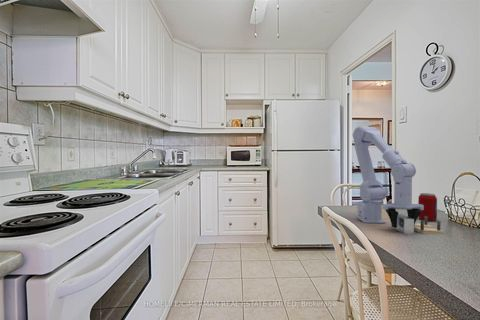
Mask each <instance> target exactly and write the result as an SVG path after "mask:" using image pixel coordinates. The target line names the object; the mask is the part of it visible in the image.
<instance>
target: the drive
mask: <svg viewBox="0 0 480 320" xmlns="http://www.w3.org/2000/svg"><path fill="white" fill-rule="evenodd" d="M391 228H392V229H394V230H395V231H398V232H399V233H401V234H403V235H414V234H415V232H414V231H415V230H414V219H412V218H410V217H408V215H405V214H403V213H398V217H397V228H394V227H392V226H391Z"/></svg>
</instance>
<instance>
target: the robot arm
mask: <svg viewBox="0 0 480 320" xmlns="http://www.w3.org/2000/svg"><path fill="white" fill-rule="evenodd" d="M381 133H382V132H381V131H380V130H379V128H378V127H376V126H361V125H360V126H357V127H356V128H355V129H354V130H353V133H352V139H353V142H354V150H355V153H356V157H357V161H358V165H359V170H360V173H361V177H362V181H363V182H362V183H361V184H360V185H359V196H360V198H361V201H359V202H358V203H357V216H356V218H357V219H358V220H360V221H361V222H362V223H366V224H367V223H368V224H369V223H370V224H371V223H372V224H373V223H375V224H376V223H379V224H382V223H383V224H385V223H387V222H386V221H385V220H383V219H382V218H383V217H382V215H383V214H382V213H383V211H382V210H383V209H384V210H385V212H386V213H387V216H388V217H389V218H388V219H389V220H390V224H391V228H392V227H394V228H397V217H398V214H400V213H399V211H397V210H406V212H407V213H406V214H407V216H408V217H410V218H412V219H414V225H415V224H416V223H417V220H418V219H419V215H420V214H421V211H419V210H424V205H421V204H418V203H413V201H412V200H413V194H412V193H413V177H414V176H415V175H416V173H417V169H416V166H415V165H414V164H413V163H412V162H408V161H407V160H406V159H405V158H403V156H402V155H401V154H400V151H399V150H398V149H394V148H391V147H390V145H389V144H388V143H387V142H386V141H385V139H384V138H383V136H382V134H381ZM372 144H373V145H374V146H375V147H376V148H377V149H378V150H379V151H380V152H381V153H382V155H381V157H382V159H383V160H384V161H385V162H386V164H387V165H388V166H389V168H390V169H391V170H390V173H391V175H392V178H393V182H394V191H393V192H394V194H393V195H394V197H393V199H394V200H393V201H394V202H393V203H383V202H384V200H385V199H386V198H387V192H386V189H385V188H384V186H383V183H382V182H381V181H379V180H378V179H377V177H376V173H375V170H374V165H373V161H372V158H371V156H370V151H369V147H370V146H371V145H372ZM394 228H393V229H394Z"/></svg>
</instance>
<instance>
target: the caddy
mask: <svg viewBox="0 0 480 320" xmlns="http://www.w3.org/2000/svg"><path fill="white" fill-rule="evenodd" d="M414 231H416V232H418V233H420V234H423V235H445V231H444V230H442V229H441V221H440V220H436V227H435V226H433V225H430V224H428V221H427V216H424V220H420V223H415V225H414Z"/></svg>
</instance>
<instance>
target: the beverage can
mask: <svg viewBox="0 0 480 320" xmlns="http://www.w3.org/2000/svg"><path fill="white" fill-rule="evenodd" d="M417 204H421V205H424V210H419V211H421V214H420V215H419V217H418V219H420V220H421V221H424V216H427V222H435V221H438V220H437V216H438V197H436V194H435V193H426V192H425V193H424V192H423V193H419V196H418V201H417Z"/></svg>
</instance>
